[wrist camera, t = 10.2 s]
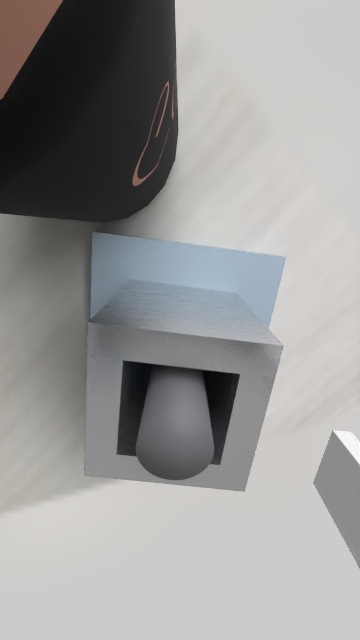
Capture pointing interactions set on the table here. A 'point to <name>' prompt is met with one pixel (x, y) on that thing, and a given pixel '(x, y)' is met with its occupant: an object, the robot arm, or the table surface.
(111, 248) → the blue base with peg
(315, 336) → the table surface
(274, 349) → the square metal tube
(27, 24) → the coffee jar
